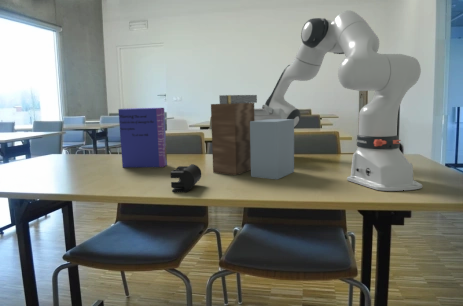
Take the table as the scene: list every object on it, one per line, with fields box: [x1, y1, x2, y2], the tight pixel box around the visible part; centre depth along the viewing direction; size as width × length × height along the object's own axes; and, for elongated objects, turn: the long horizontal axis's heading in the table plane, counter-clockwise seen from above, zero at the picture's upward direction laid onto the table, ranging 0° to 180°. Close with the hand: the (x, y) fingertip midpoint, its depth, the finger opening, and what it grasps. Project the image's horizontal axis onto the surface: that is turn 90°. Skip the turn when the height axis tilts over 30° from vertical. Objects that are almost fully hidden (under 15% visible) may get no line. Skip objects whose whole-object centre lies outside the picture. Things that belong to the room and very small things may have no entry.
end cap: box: [170, 164, 202, 193], centre depth 109 cm, size 10×7×7 cm
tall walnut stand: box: [210, 103, 255, 176], centre depth 134 cm, size 14×10×25 cm
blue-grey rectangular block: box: [250, 119, 295, 180], centre depth 125 cm, size 14×10×19 cm
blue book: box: [118, 107, 168, 169], centre depth 147 cm, size 17×5×24 cm, turn 84°
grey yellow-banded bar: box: [219, 94, 258, 104], centre depth 135 cm, size 22×4×3 cm, turn 147°
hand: (253, 106), depth 144 cm, fingers open, 8 cm apart
